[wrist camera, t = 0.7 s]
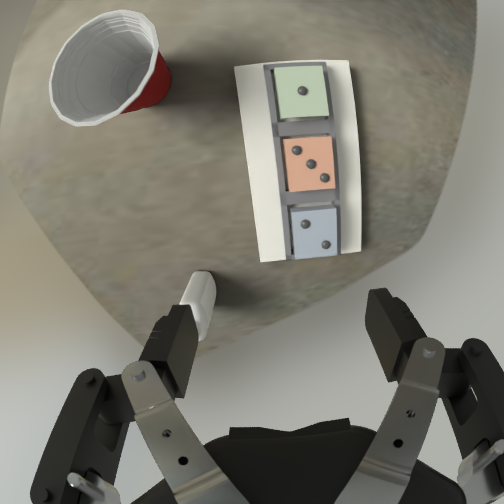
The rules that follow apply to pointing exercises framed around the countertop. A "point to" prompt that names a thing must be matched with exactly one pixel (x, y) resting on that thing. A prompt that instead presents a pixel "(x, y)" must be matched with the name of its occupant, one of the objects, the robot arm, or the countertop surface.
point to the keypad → (274, 164)
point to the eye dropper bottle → (201, 299)
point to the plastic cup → (108, 69)
